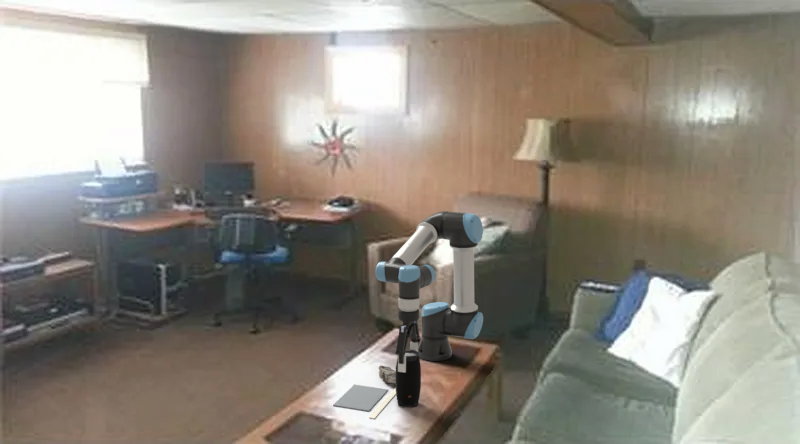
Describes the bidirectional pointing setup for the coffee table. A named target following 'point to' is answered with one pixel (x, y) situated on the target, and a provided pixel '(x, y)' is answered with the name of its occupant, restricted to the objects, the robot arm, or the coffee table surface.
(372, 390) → the mat
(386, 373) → the mineral rock
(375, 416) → the strip
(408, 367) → the portable speaker
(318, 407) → the coffee table surface
